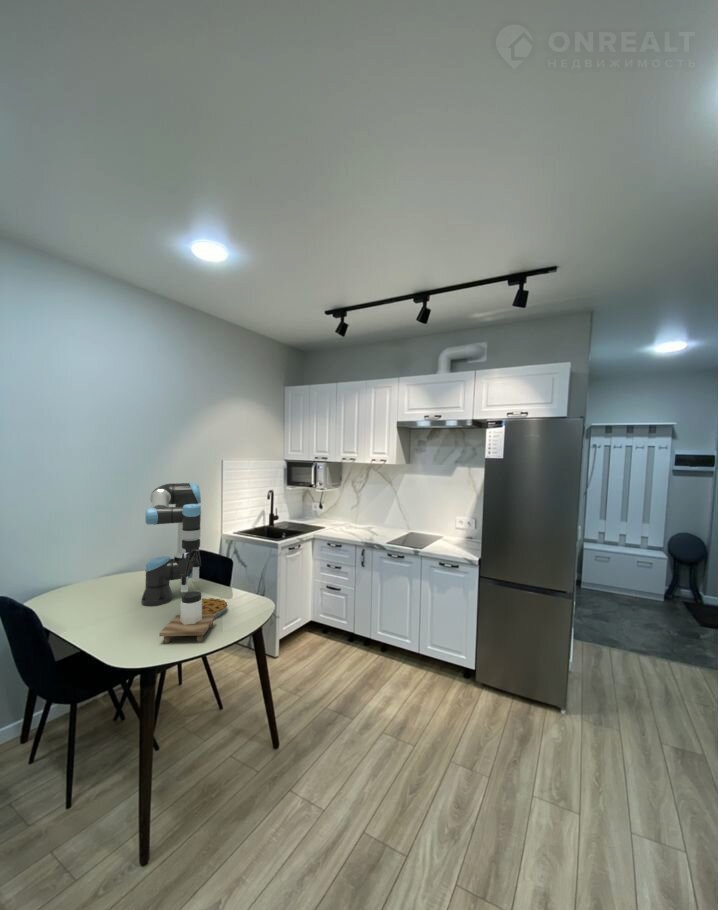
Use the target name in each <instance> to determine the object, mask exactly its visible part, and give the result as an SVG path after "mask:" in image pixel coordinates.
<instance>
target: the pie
mask: <svg viewBox="0 0 718 910" xmlns="http://www.w3.org/2000/svg"><path fill="white" fill-rule="evenodd" d="M201 599H202V614H216V618H219V617H221V616H222V615H223V614H224V613H225V612H226V609H227V607H228V602H227V601H225V600H224V599H221V598H214V597H213V598H212V597H209V598H203V597H201ZM179 610H180V613H181V609H179ZM216 618H215V619H216Z"/></svg>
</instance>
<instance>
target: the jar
mask: <svg viewBox="0 0 718 910" xmlns="http://www.w3.org/2000/svg"><path fill="white" fill-rule="evenodd" d="M180 610H181V612H180V614H179V615H180V622H181V623H183V624H184V625H189V624H195V623H197V622H199V621H200V620H202V592H200V591H194V590H193V591H188V592H183V593H182V594H181V600H180Z"/></svg>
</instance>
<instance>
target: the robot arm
mask: <svg viewBox="0 0 718 910" xmlns="http://www.w3.org/2000/svg"><path fill="white" fill-rule="evenodd" d="M149 498H150V503H151V507H149V508H146V509H145V524H146V525H151V526H152V525H154V526H156V525H166V524H168V525H169V524H177V552H176V553H175V554H174V557H173V558H171V556H169V555H167V556H165V555H164V556H163V555H162V556H157V557H154V558H152V559H149V560H148V561H147V562H146V563H145V589H144V591H143V594H142V597H141V601H140V602H141V605H142V606H146V607H155V606H161V605H165V604H168V603H170V602H171V601H172V600H173V598H174V597H173V595H174V594H173V592H172V589H171V586H170V585H171V584H170V581H177V580H180V593H187V592H189V579H191V578H192V580H191V581H192V582H199V581H200V567H202V559H201V554H200V547H201V518H202V517H201V516H202V510H201V505H200V504H201V503H202V499H201V491H200V486H199V484H198V483H196V482H195V483H193V482H185V483H184V482H180V483H179V482H178V483H177V482H176V483H172V482H171V483H165V484H162V485H159V486H158V487H156V488H155V489H154V490H153V491H151V494H150V497H149ZM170 505H175V506H170Z"/></svg>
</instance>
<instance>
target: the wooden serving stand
mask: <svg viewBox="0 0 718 910" xmlns="http://www.w3.org/2000/svg"><path fill="white" fill-rule="evenodd" d="M215 620H216V614H202V620H200V621H199V622H197V623H195V624H189V625H184V624H183V623H181V622H180V614H177V615H175V616H174V618H172V619H171V621H170V622H168V624H167V625H166V626H165V627H164V628H163V629H161V631H160V632H159V635H158V636H159V637H163V644H168V643H171V637H185V636H186V637H187V636H196V643H202V642H203V640H204V635H205V634H206V633H207V631H208V630H209V629H212V628H213V627H214V621H215Z"/></svg>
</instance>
